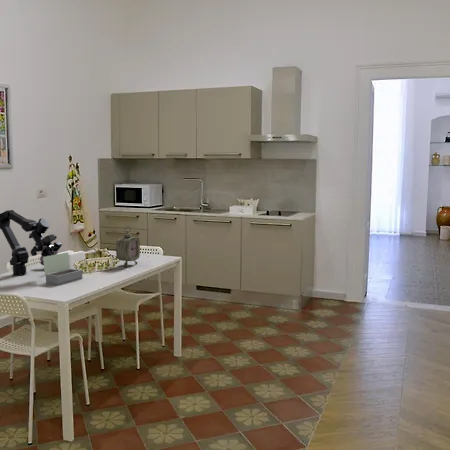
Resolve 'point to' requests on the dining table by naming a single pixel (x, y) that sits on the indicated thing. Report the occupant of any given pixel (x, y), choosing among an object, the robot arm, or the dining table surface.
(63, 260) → the cover
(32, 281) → the dining table surface
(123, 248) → the tabletop clock
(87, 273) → the dining table surface
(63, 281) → the grey open box
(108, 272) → the dining table surface
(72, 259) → the cable organizer
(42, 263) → the decorative flower
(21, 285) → the dining table surface
